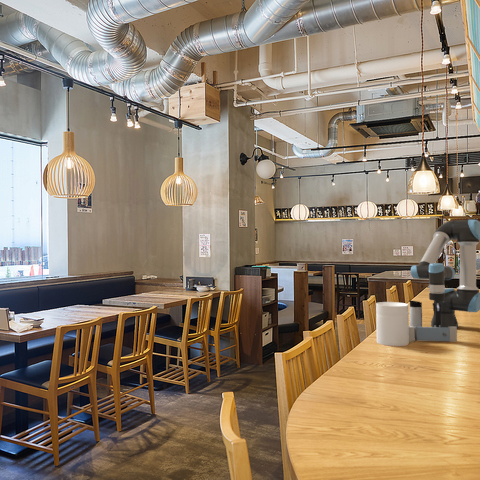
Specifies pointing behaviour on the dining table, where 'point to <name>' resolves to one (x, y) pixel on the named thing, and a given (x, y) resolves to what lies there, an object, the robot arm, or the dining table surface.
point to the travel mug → (415, 313)
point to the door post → (411, 334)
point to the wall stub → (453, 334)
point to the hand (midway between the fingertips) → (437, 337)
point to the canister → (392, 323)
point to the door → (431, 333)
